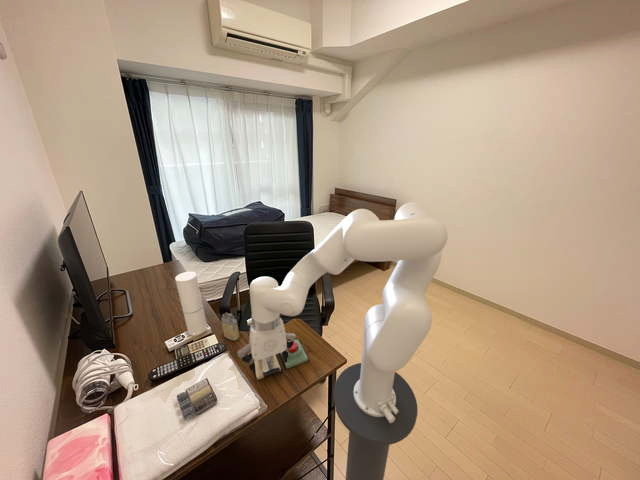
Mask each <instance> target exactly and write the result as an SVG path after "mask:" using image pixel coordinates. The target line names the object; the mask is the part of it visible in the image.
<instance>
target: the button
mask: <svg viewBox="0 0 640 480" xmlns="http://www.w3.org/2000/svg"><path fill="white" fill-rule="evenodd" d="M296 351H297V343H296V342H294V344H293V345H292V347H291V348H290V351H289V352H290V353H294V352H296Z"/></svg>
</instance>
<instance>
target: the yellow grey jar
mask: <svg viewBox="0 0 640 480" xmlns="http://www.w3.org/2000/svg"><path fill="white" fill-rule="evenodd" d="M221 316H222V317H221V327H222V333H223V337H225V338H226V340H231V341H232V342H233V341H234V342H235V341H237V340H239V339H240V331H239V326H238V321H237V319H236V318H235V316H234V315H233V314H232V313H231V312H230V313H228V312H225V313H223V314H222V315H221Z"/></svg>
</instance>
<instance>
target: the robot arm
mask: <svg viewBox="0 0 640 480" xmlns="http://www.w3.org/2000/svg"><path fill="white" fill-rule="evenodd" d="M393 218H394V219H387V220H386V219H384V220H381V219H380V218H379V217H378V216H377V214H375V213H374V212H373V211H371V210H369V209H366V208H358V209H355V210H353V211H351V212H350V213H348V215H347V216H346V217H345V218H343V219H342V220H341V221H340V223H339V224H338V225H336V226H335V228H334V229H333V230H332V231H331V232H330V233H329V234H328V235H327V236H326V237H325V238H324V239H323V240H322V241H321V242H320V243H319V244H318V245H317V246H316V247H315V248H314V249H312V250H311V251H310V252H308V253H307V254H306V255H304V256H303V257H302V258H301V259H300V260H299V261H298V262H297V263H296V264H295V265H294V266H293V268H291V269H290V271H289V272H287V274H286V275H285V277H284V279H283V281H282V283H281V285H279V282H278V281H277V280H276V279H275V278H273V277H271V276H260V277H257V278H255V279H253V280H252V281H251V282H250V285H249V288H248V289H249V299H250V310H251V317H250V318H249V319H248V320H246V324H247V326H250V327H249V342H248V343H247V344H246V345H245V346H243V347H242V348H240V349H238V350H237V351H236V353H237V357H238V358H239V359H241V360H242V362H244V363H247V364H248V368H249V371H252V374H253V375H256V370H255V362H254V361H255V360H260V359H263V358H267V357H270V356H273V355H278V354H280V353H281V352H282V356H281V358H282V357H283V359H282V361H283V360H284V361H283V363H284V362H285V363H286V362H287V358H288V352H289V351H290V348H291V347H292V345H293V344H294V341H295V340H297V335H296V334H295V333H293V332H286V328H285V324H284V321H283V319H282V318H281V315H284V316H286V317H297V316H299V315H300V314H301V313H302V312H303V310H304V308H305V305H306V301H307V298H308V294H309V290H310V288H311V287H312V285H314V283H316V282H317V280H319V279H320V278H321V277H322V276H323V275H325V274H327V273H328V274H330V275H333V276H334V275H335V276H336V275H340V274H341V273H342V272H344V270H345V269H346V268H348V267H349V266H350V265H351V264H352V263H353V262H354V261H360V262H369V263H370V262H371V263H373V262H375V263H376V262H396V261H397V263H396V264H395V265H396V266H395V267H394V269H393V271H392V273H391V275H390V276H389V278H388V280H387V282H386V284H385V285H384V287H383V290H382V295H381V297H382V303H380V304H379V303H378V304H375V305H373V306H372V307H370V308H369V309H368V311H367V312H366V314H365V316H364V320H363V340H362V341H363V342H362V352H361V362H360V363H361V373H360V379H359V380H358V381H357V383H356V384H355V386H354V399H355V402H356V404H357V405H358V407H359V408H360V409H361V410H362V411H363V412H365V413H366V414H368V415H371V416H374V417H384V416H385V417H386V418H387V420H388V421H389V422H390V423H393V422H394V421H395V417H394V416H393V414H392V413H391V412H392V411H393V412H394V414H397V413H398V412H399V411H398V409H397V408H396V407H395V404H396V395H395V392H394V390H393V382H394V375H395V372H398V371H399V370H401V369H402V368H404V367H405V366H406V365H407V364H408V363H409V361H410V360H411V359H412V358H413V356H414V355H415V353H416V352H417V351H418V349H419V347H420V346H421V344H422V343H423V342H424V340H425V338H426V337H427V335H428V334H429V331H430V329H431V327H432V322H433V321H432V320H433V317H432V311H431V308H430V305H429V304H428V301H427V299H426V293H427V290H428V289H429V286H430V284H431V283H432V281H433V279H434V277H435V275H436V273H437V271H438V269H439V266H440V263H441V260H442V256H443V255H442V254H443V249H445V247H446V244H447V241H448V230H447V228H446V226H445V224H444V223H443V222H442V220H441V219H440V218H439V217H438V216H437V215H435V214H434V213H433V212H432V211H431V210H430V209H429V208H428V207H427V206H426V205H424V204H422V203H419V202H416V201H412V202H411V201H410V202H407V203H404V204H403V205H401V206H400V207H399V208H398V209H397V210H396V213H395V215H394V217H393ZM247 353H248V354H247Z"/></svg>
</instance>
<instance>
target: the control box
mask: <svg viewBox="0 0 640 480" xmlns="http://www.w3.org/2000/svg"><path fill="white" fill-rule="evenodd" d="M294 342H296V343H297V351H296V352H294V353H290V352H288V358H287V362H286V363H285V362H284V360H283V357H282V352H281V353H279V354H280V356H281V359H282V361H283V364H284V366H285V369H290V368H293V367H296V366H298V365H301V364H303V363H306V362H308V361H309V358H308V355H307V354H306V352H305V350H304V348H303V346H302V344H301V342H300V341H299V339H295V341H294Z"/></svg>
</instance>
